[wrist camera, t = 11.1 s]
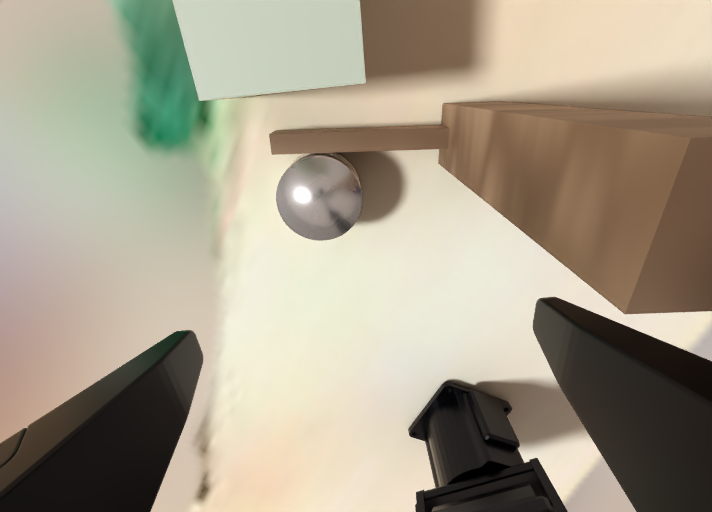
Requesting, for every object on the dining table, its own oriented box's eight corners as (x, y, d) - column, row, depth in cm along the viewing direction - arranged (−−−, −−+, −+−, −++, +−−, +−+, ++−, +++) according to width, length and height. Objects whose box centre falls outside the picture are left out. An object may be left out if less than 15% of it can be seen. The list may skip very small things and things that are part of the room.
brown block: (493, 161, 20) (790, 307, 7) (280, 168, 20) (140, 331, 6) (501, 101, 19) (901, 130, 5) (273, 108, 19) (75, 159, 5)
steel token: (335, 237, 22) (334, 254, 20) (270, 201, 21) (261, 214, 19) (375, 176, 20) (378, 187, 18) (307, 133, 19) (301, 139, 17)
